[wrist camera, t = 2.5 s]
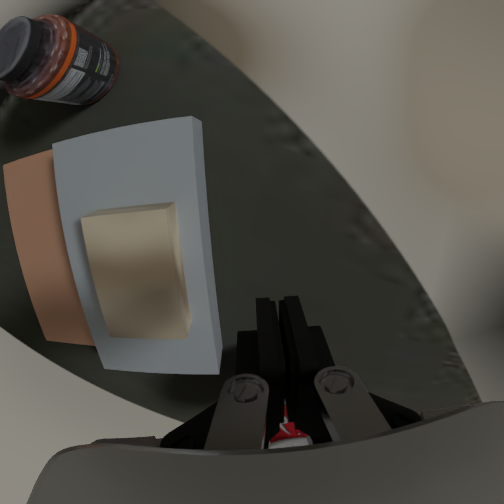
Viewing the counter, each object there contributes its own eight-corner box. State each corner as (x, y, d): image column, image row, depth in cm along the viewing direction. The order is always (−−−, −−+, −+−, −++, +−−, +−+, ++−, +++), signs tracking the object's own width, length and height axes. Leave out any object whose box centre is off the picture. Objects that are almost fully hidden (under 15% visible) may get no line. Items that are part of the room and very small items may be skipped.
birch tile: (191, 321, 22) (186, 339, 20) (120, 320, 22) (110, 337, 20) (175, 201, 19) (165, 209, 17) (97, 210, 19) (80, 217, 17)
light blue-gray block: (222, 346, 28) (219, 374, 24) (118, 344, 28) (104, 368, 24) (201, 121, 21) (191, 116, 17) (78, 142, 21) (52, 143, 17)
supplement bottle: (60, 63, 18) (-24, 39, 8) (115, 32, 18) (43, -19, 7) (70, 118, 20) (-23, 114, 10) (128, 88, 20) (46, 56, 9)
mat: (118, 344, 28) (116, 347, 27) (48, 338, 28) (46, 340, 27) (78, 142, 21) (75, 143, 21) (6, 164, 21) (3, 165, 21)
